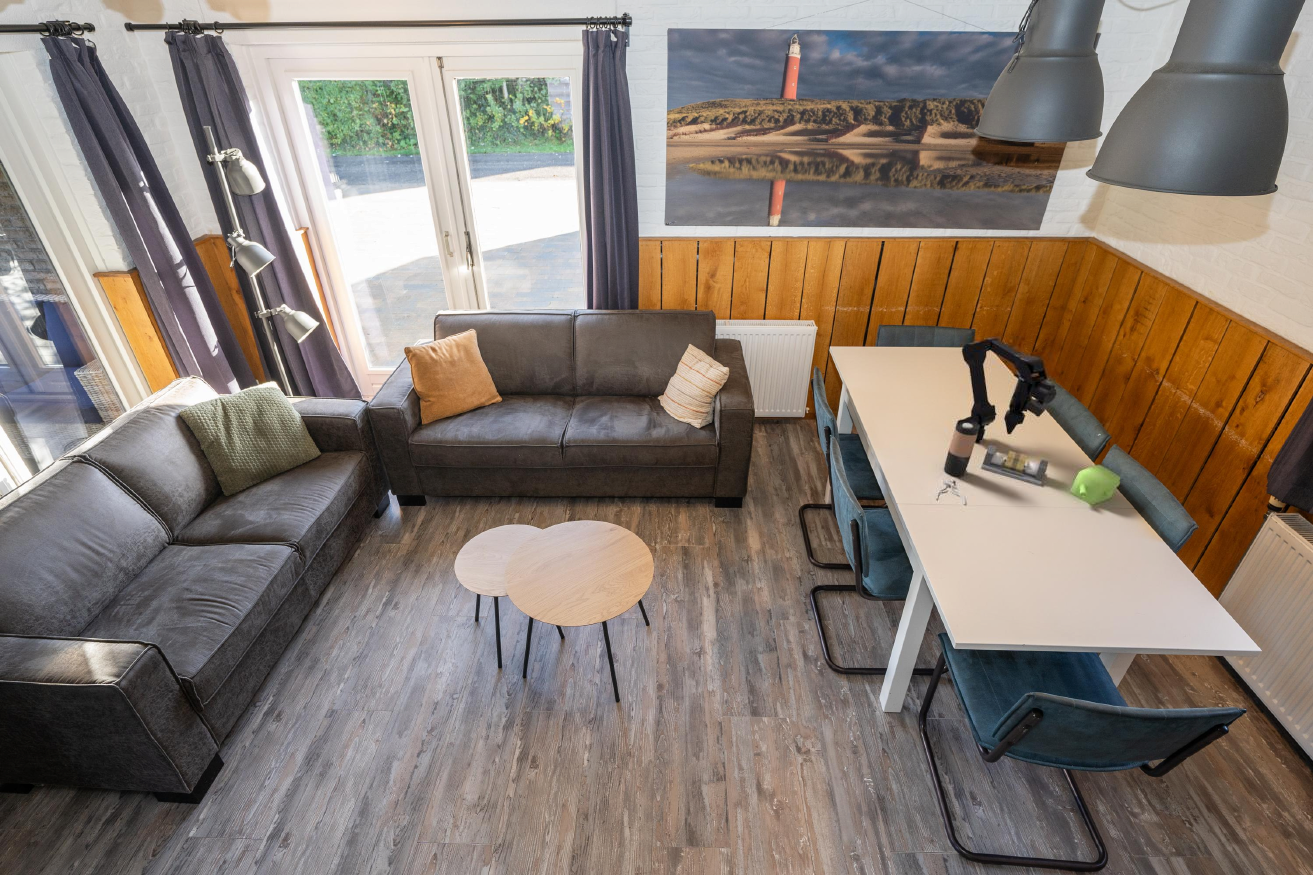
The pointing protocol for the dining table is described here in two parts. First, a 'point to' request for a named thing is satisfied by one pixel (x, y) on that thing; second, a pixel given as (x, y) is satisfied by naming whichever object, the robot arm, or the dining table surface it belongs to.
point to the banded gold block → (1015, 462)
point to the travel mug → (961, 447)
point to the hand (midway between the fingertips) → (1010, 428)
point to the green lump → (1095, 484)
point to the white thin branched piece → (950, 484)
